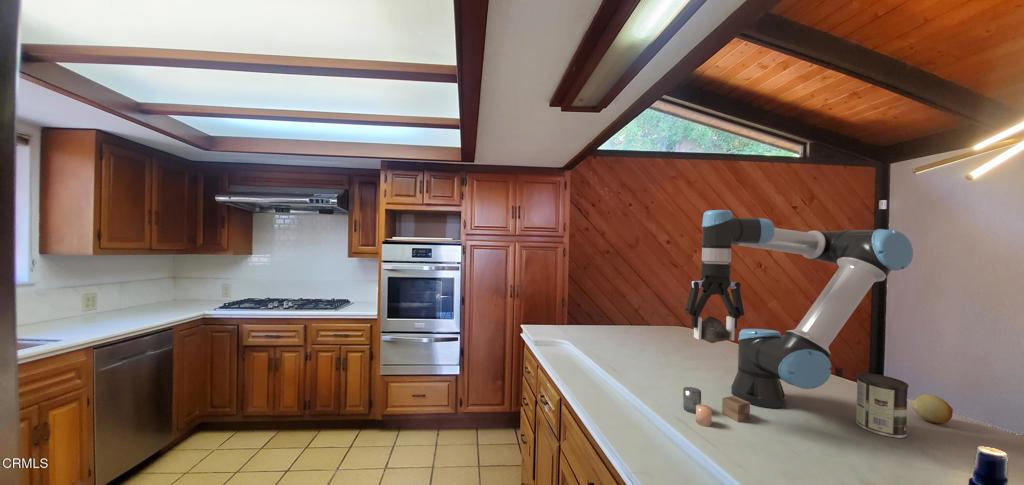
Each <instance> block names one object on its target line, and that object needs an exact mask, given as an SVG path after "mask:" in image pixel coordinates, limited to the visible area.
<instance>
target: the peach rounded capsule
mask: <svg viewBox="0 0 1024 485" xmlns="http://www.w3.org/2000/svg"><path fill="white" fill-rule="evenodd" d="M712 412H713V409H712V407H710V406H709V405H706V404H702V403H701V404H698V405H696V413H695V423H696V424H697V425H699V426H702V427H709V428H710V427H712V421H713V420H712V418H713V413H712Z"/></svg>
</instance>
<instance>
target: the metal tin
mask: <svg viewBox="0 0 1024 485" xmlns="http://www.w3.org/2000/svg"><path fill="white" fill-rule="evenodd" d="M682 396H683V397H682V398H683V399H682V401H683V402H682V403H683V404H682V405H683V406H682V408H684V409H683V410H684V411H685V410H686V411H685V412H687V413H691V414H696V405H698V404H702V390H701V389H699V388H697V387H693V386H685V387H683V389H682Z"/></svg>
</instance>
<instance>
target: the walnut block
mask: <svg viewBox="0 0 1024 485" xmlns="http://www.w3.org/2000/svg"><path fill="white" fill-rule="evenodd" d="M721 404H722V405H721V409H722V410H721V415H723V416H725V417H727V418H728V419H731V420H733V421H735V422H737V423H739V422H743V421H748V420H750V417H751V415H750V414H751V404H750V402H747V401H745V400H743V399H740V398H738V397H736V396H733V395H731V396H726V397H722V403H721Z"/></svg>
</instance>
